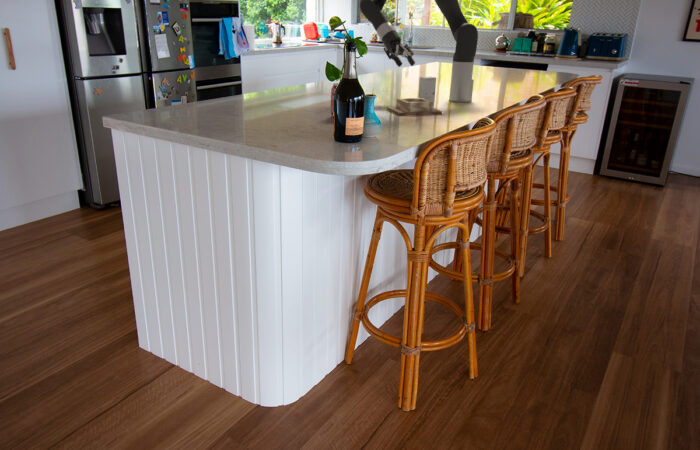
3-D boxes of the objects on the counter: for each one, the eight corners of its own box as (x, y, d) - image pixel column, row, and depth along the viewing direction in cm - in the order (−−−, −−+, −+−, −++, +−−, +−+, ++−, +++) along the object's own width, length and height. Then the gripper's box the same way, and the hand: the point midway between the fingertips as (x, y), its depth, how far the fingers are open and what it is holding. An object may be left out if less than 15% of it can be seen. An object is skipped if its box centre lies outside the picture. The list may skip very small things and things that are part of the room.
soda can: (349, 118, 202) (350, 85, 198) (330, 118, 202) (330, 85, 198) (349, 115, 209) (350, 83, 205) (331, 114, 209) (331, 82, 205)
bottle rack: (427, 108, 228) (428, 97, 226) (441, 114, 215) (442, 102, 213) (386, 109, 223) (387, 98, 221) (399, 115, 210) (399, 103, 208)
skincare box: (423, 107, 230) (425, 77, 226) (416, 105, 234) (418, 76, 229) (434, 106, 233) (437, 77, 229) (427, 104, 237) (430, 76, 232)
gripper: (382, 29, 231) (401, 59, 228) (404, 29, 240) (422, 58, 237) (372, 41, 236) (391, 71, 233) (394, 41, 246) (412, 70, 243)
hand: (407, 65), depth 235 cm, fingers open, 8 cm apart
